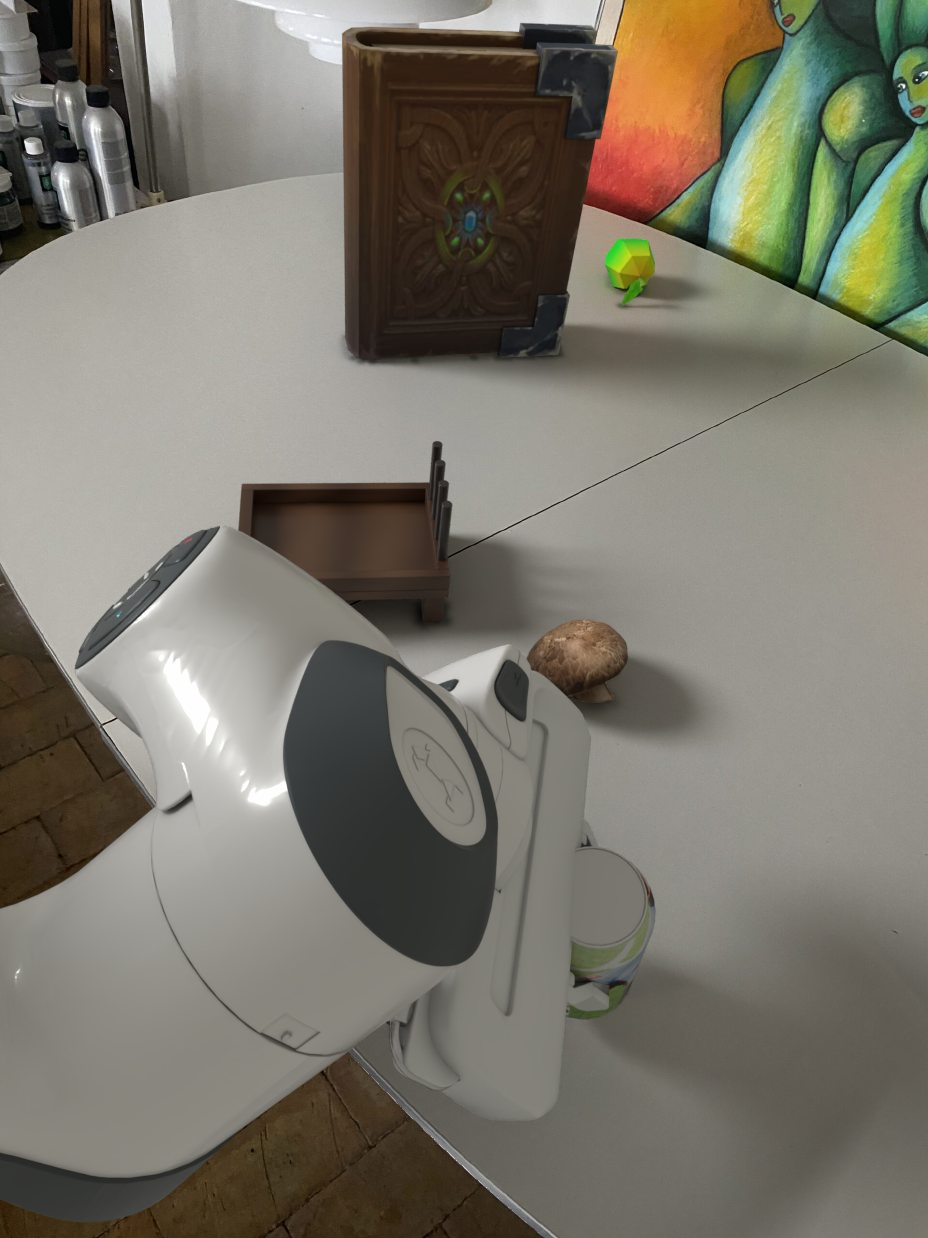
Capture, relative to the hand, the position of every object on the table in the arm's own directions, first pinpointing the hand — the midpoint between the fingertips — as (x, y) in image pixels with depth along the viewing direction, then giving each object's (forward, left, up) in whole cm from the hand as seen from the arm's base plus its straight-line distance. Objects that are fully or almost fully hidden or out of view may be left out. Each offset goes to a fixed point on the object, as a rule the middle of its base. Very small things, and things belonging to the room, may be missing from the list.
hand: (601, 938), depth 45 cm
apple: (+25, +84, -9) cm, 88 cm away
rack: (-12, +35, -9) cm, 38 cm away
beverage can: (-1, 0, -7) cm, 7 cm away
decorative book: (+1, +71, -9) cm, 72 cm away
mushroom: (+5, +23, -9) cm, 25 cm away
